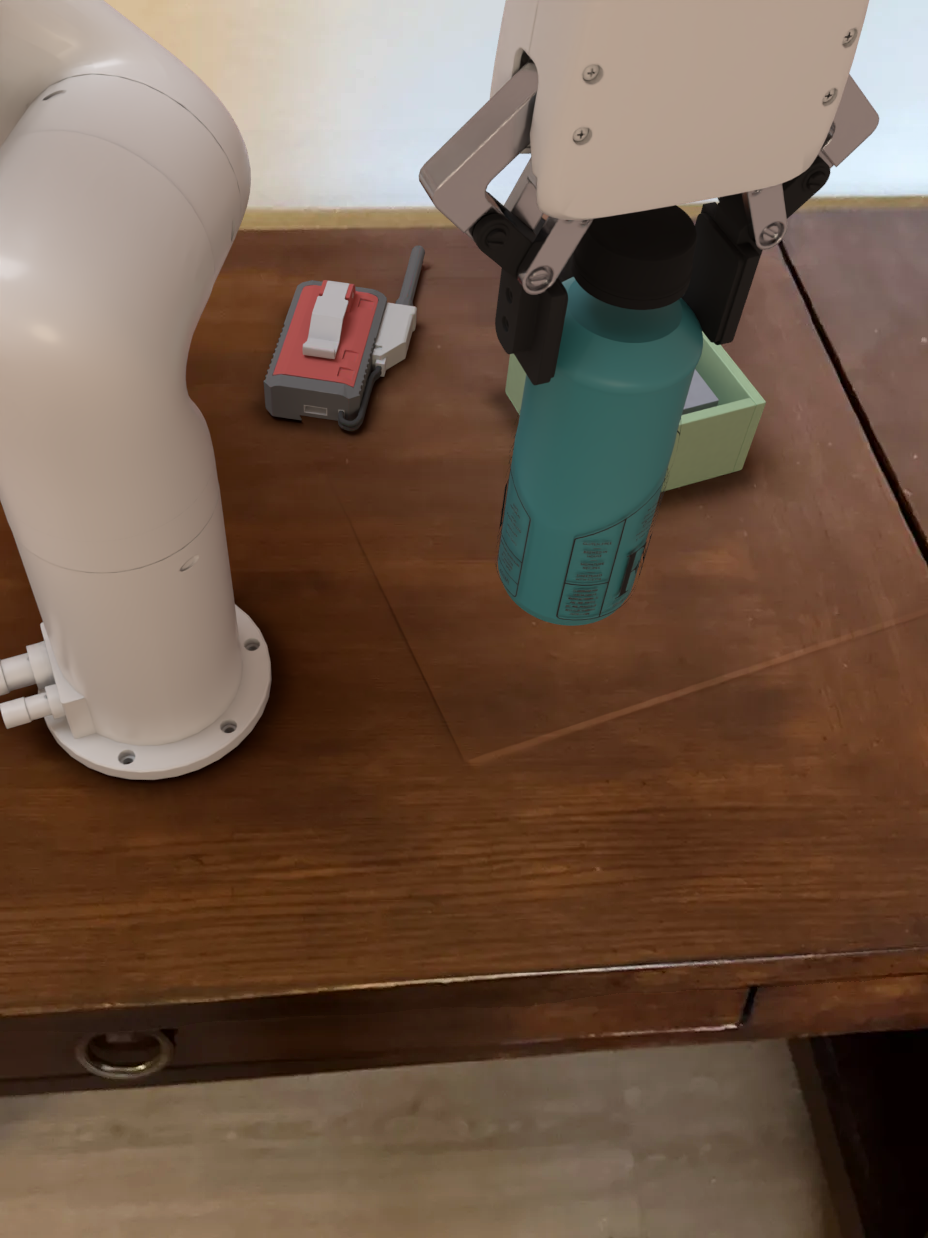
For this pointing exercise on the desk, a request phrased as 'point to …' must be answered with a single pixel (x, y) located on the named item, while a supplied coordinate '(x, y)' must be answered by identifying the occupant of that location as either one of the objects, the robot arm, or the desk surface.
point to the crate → (698, 420)
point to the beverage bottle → (602, 421)
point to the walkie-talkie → (339, 347)
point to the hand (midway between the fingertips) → (617, 336)
